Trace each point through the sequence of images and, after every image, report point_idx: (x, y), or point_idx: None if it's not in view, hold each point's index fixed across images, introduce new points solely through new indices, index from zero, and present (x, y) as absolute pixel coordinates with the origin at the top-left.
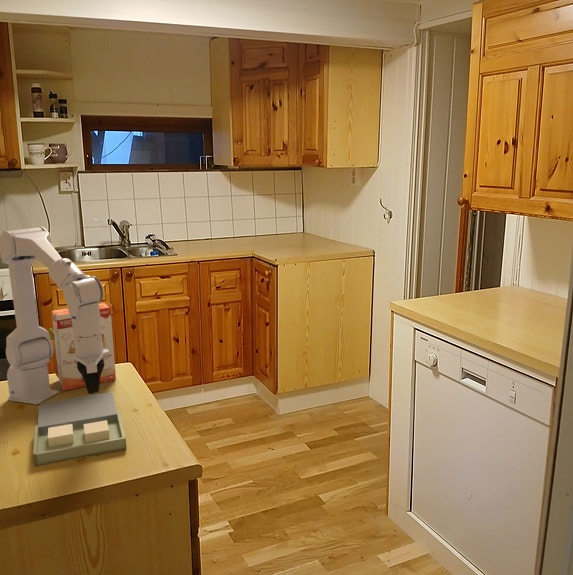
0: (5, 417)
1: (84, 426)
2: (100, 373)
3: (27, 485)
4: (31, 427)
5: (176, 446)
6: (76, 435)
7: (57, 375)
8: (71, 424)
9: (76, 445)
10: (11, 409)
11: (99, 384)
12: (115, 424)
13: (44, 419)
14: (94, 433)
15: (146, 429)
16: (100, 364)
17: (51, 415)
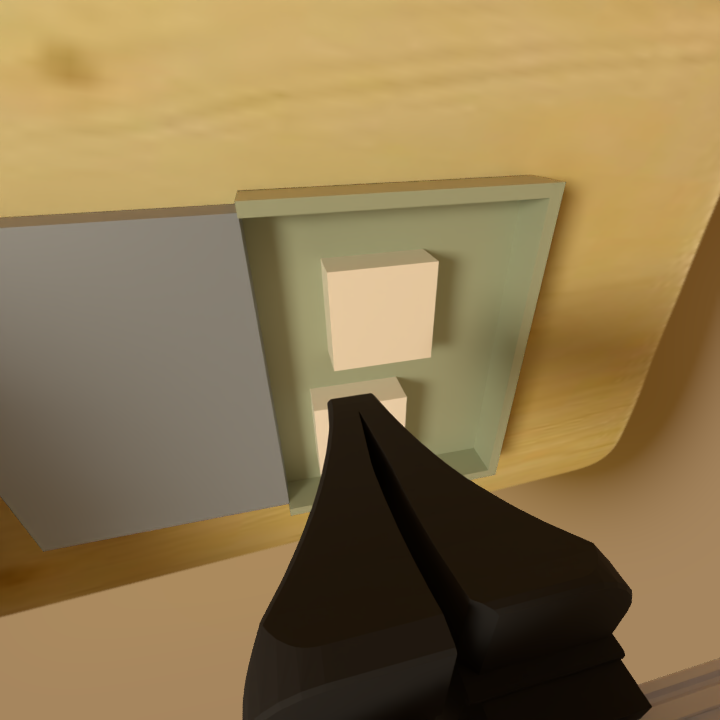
0: (116, 585)
1: (358, 365)
2: (504, 504)
3: (557, 442)
4: None
5: None
6: (343, 374)
7: None
8: (320, 413)
9: (424, 365)
10: (42, 591)
11: (400, 424)
12: (287, 219)
13: (225, 500)
14: (431, 320)
15: (383, 33)
16: (576, 619)
17: (191, 488)
